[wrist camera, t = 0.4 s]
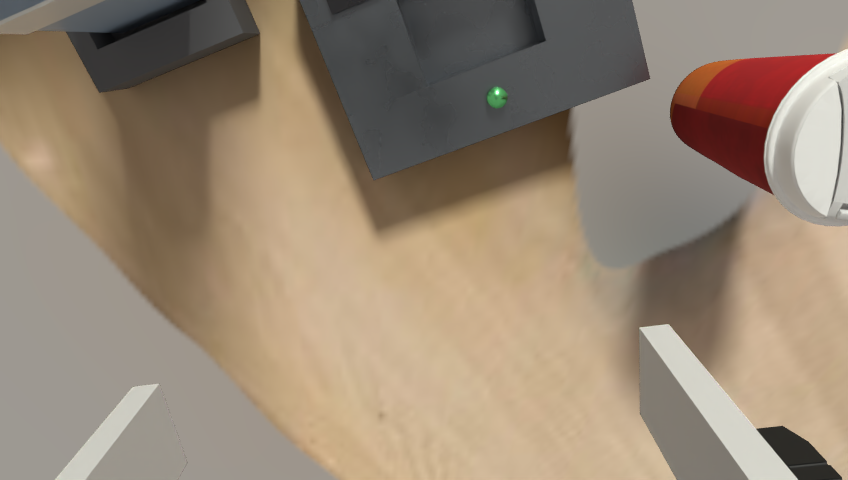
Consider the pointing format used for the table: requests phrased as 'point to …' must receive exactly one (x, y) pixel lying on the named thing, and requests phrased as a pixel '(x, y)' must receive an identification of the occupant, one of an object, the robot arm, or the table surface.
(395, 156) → the port panel
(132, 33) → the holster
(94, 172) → the table surface
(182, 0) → the plug
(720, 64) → the coffee cup
